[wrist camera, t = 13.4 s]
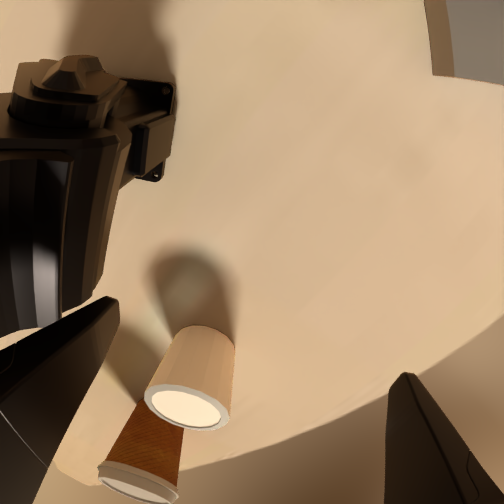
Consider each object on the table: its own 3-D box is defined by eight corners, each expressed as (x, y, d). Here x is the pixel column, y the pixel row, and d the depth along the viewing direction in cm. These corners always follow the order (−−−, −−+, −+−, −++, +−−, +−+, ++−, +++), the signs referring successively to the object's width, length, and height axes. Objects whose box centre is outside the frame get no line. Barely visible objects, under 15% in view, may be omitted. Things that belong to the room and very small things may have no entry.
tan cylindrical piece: (203, 307, 26) (180, 375, 20) (257, 356, 28) (248, 422, 22) (153, 337, 29) (127, 396, 23) (205, 378, 31) (189, 437, 25)
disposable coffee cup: (212, 427, 36) (193, 511, 26) (159, 431, 40) (136, 503, 30) (164, 385, 33) (131, 479, 22) (112, 394, 36) (78, 470, 26)
